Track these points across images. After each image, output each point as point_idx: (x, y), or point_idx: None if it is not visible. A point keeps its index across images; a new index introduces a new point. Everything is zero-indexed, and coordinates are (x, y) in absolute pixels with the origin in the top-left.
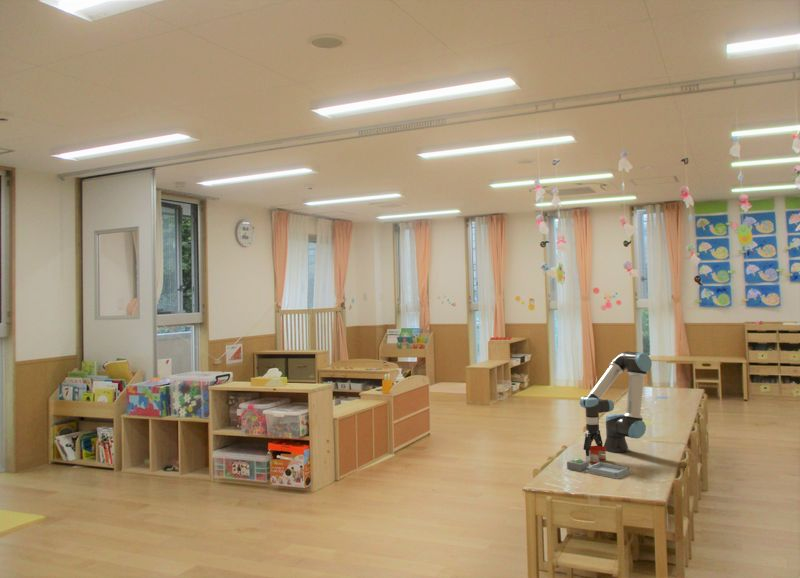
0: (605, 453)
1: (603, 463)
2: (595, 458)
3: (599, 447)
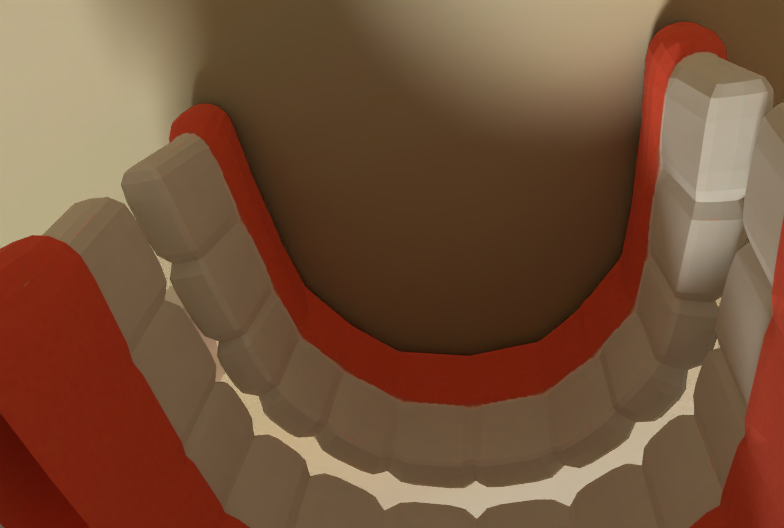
0: (88, 207)
1: None
2: (718, 214)
3: (114, 501)
